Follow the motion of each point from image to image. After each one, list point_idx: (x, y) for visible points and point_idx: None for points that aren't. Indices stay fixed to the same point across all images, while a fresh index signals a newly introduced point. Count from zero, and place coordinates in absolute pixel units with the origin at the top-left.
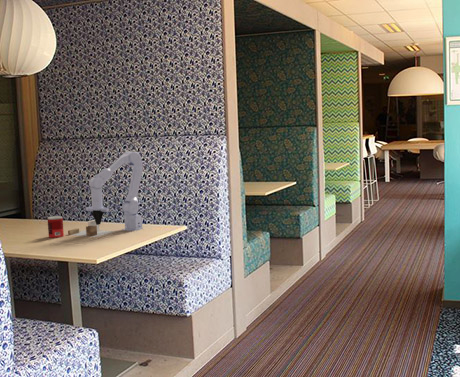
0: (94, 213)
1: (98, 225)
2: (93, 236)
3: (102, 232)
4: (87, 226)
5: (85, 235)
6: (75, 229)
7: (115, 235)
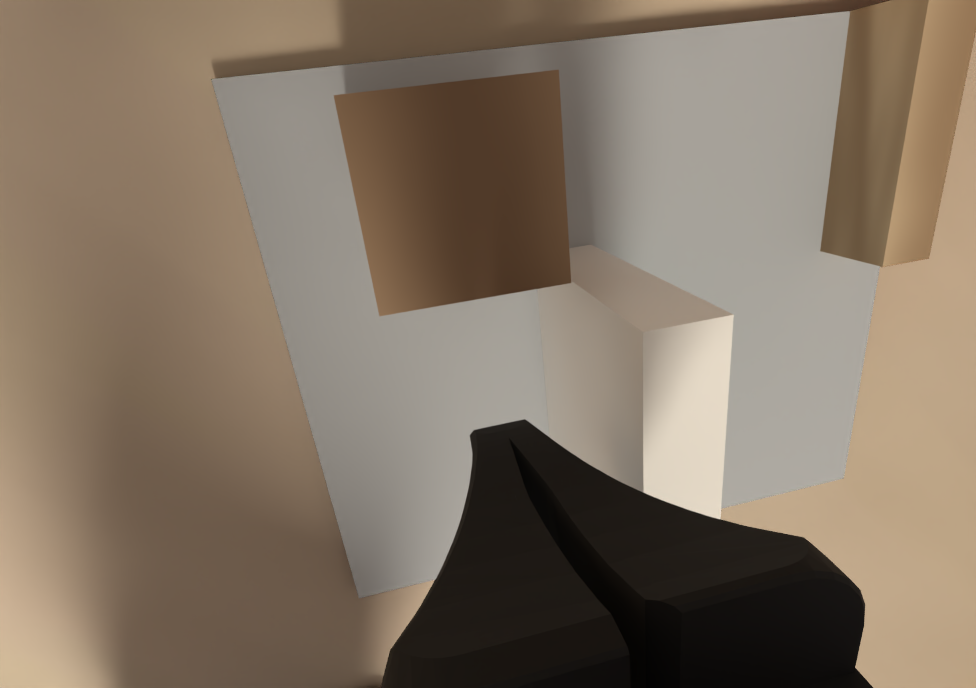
0: (632, 600)
1: None
2: (301, 105)
3: None
4: (538, 118)
5: None
6: (897, 167)
7: (84, 438)
